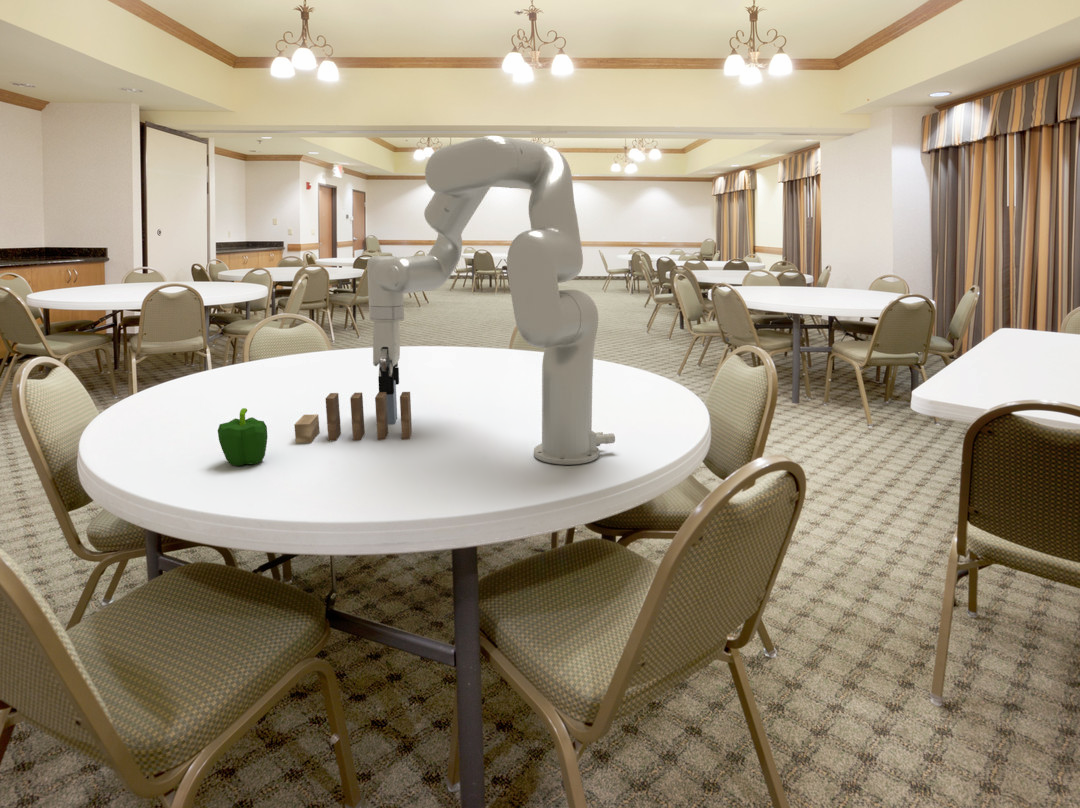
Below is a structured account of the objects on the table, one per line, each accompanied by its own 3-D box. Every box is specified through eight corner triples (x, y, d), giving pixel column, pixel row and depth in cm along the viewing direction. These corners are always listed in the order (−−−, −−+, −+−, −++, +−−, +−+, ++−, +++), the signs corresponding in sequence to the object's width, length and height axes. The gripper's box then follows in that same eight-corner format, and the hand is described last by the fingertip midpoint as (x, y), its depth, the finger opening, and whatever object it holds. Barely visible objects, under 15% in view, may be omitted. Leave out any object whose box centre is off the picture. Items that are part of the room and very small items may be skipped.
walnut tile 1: (411, 432, 153) (410, 391, 150) (409, 439, 148) (407, 397, 146) (404, 432, 152) (402, 391, 150) (401, 439, 148) (399, 397, 145)
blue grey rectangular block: (397, 418, 164) (395, 380, 162) (394, 424, 159) (392, 384, 157) (390, 418, 164) (388, 380, 162) (387, 424, 159) (385, 385, 157)
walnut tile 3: (364, 433, 152) (362, 392, 150) (360, 440, 147) (358, 397, 145) (357, 433, 152) (354, 392, 150) (353, 440, 147) (350, 398, 145)
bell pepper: (253, 471, 128) (248, 417, 125) (212, 468, 129) (207, 415, 127) (279, 457, 136) (274, 406, 133) (240, 454, 137) (235, 404, 135)
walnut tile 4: (341, 434, 151) (338, 392, 149) (336, 440, 147) (333, 398, 144) (333, 434, 151) (330, 393, 149) (328, 440, 146) (325, 398, 144)
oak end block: (319, 432, 152) (318, 414, 152) (310, 443, 145) (309, 424, 144) (305, 432, 152) (303, 414, 151) (295, 443, 144) (294, 424, 144)
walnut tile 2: (388, 432, 152) (386, 392, 150) (385, 439, 147) (383, 397, 145) (380, 433, 152) (378, 392, 150) (377, 439, 147) (375, 397, 145)
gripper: (375, 308, 164) (378, 380, 168) (362, 318, 147) (366, 398, 151) (407, 309, 165) (409, 380, 169) (399, 318, 148) (402, 398, 152)
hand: (389, 389), depth 160 cm, fingers open, 9 cm apart
